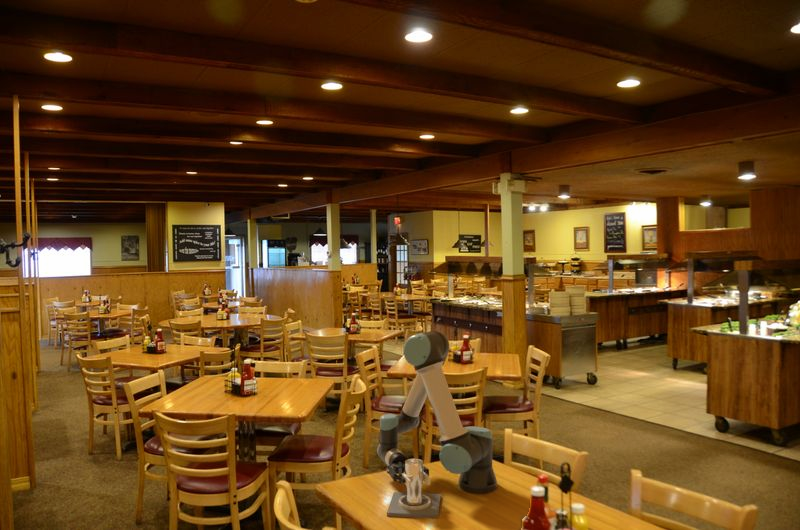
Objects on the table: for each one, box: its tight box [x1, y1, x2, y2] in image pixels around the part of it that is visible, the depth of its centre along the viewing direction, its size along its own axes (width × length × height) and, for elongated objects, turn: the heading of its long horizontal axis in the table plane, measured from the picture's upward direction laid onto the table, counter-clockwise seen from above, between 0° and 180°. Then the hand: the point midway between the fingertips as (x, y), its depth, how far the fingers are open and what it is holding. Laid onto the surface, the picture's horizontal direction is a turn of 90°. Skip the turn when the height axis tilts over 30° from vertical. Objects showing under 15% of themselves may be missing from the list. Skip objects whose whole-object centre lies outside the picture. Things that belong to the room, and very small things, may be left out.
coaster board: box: [386, 491, 442, 519], centre depth 215 cm, size 18×18×2 cm
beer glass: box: [404, 458, 424, 505], centre depth 215 cm, size 7×7×15 cm
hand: (419, 482), depth 210 cm, fingers closed on beer glass, 7 cm apart
